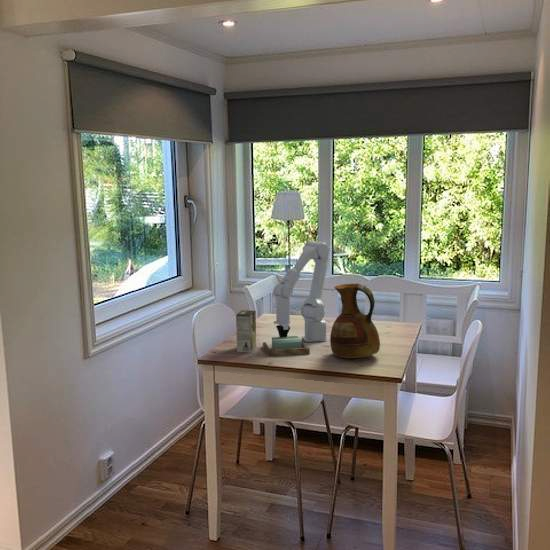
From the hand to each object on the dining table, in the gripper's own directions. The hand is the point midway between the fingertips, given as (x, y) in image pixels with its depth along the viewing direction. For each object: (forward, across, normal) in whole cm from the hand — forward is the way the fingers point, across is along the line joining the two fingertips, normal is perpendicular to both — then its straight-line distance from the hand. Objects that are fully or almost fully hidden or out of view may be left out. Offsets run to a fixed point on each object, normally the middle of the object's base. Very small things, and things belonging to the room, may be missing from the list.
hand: (283, 342), depth 256 cm
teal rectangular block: (+2, +6, 0) cm, 6 cm away
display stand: (+2, +6, 0) cm, 6 cm away
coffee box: (+2, +2, -16) cm, 16 cm away
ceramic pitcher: (+2, +20, +26) cm, 33 cm away
